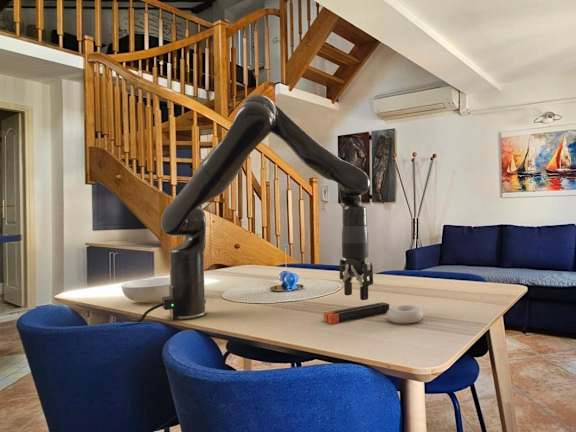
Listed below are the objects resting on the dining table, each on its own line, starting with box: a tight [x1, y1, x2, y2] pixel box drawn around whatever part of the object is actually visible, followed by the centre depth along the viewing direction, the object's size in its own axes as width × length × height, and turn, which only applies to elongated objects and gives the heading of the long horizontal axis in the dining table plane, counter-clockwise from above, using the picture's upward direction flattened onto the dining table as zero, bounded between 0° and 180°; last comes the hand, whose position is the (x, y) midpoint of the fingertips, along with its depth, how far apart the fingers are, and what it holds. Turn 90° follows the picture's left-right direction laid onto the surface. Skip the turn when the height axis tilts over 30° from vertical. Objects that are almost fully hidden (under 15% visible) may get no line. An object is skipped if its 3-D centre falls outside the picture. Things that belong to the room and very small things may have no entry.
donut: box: [386, 304, 424, 325], centre depth 115 cm, size 10×4×10 cm
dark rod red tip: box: [323, 302, 390, 325], centre depth 120 cm, size 20×4×2 cm, turn 126°
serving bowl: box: [121, 276, 170, 304], centre depth 149 cm, size 21×21×7 cm
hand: (355, 297), depth 120 cm, fingers open, 8 cm apart
